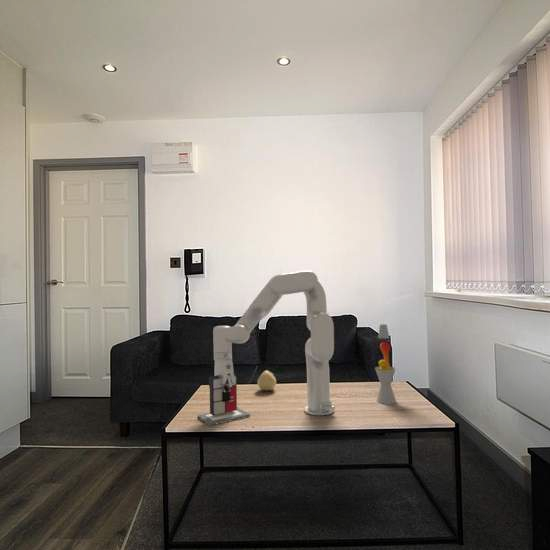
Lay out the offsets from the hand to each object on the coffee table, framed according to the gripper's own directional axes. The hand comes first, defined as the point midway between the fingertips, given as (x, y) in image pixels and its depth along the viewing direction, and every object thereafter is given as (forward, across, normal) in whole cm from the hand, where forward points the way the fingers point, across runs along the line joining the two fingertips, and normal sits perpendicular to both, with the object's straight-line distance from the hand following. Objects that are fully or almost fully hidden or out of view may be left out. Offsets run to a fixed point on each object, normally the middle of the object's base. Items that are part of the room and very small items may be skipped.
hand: (224, 399), depth 153 cm
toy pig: (+7, +24, -36) cm, 44 cm away
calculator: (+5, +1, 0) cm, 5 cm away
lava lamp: (+8, -26, -69) cm, 74 cm away
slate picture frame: (+7, 0, 0) cm, 7 cm away
